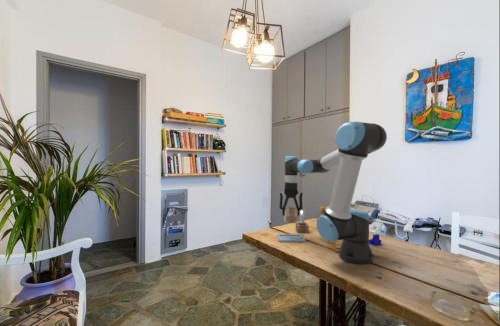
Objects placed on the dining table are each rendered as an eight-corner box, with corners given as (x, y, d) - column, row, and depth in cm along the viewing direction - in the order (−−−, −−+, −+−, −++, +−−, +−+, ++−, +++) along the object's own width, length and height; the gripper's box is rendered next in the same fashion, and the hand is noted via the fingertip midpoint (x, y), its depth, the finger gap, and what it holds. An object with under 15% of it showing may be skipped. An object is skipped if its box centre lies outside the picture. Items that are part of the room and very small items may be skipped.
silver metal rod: (304, 232, 156) (305, 210, 156) (300, 232, 156) (300, 210, 156) (303, 231, 159) (304, 209, 159) (299, 230, 159) (299, 209, 159)
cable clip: (381, 245, 133) (381, 234, 133) (375, 246, 131) (375, 235, 131) (362, 238, 144) (363, 229, 144) (357, 239, 142) (357, 229, 142)
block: (296, 222, 139) (296, 209, 139) (286, 222, 139) (286, 209, 139) (294, 220, 145) (294, 207, 145) (284, 220, 145) (285, 207, 145)
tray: (305, 242, 137) (305, 240, 137) (279, 242, 137) (279, 240, 137) (301, 236, 148) (301, 234, 148) (277, 236, 148) (277, 234, 148)
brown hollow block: (308, 233, 154) (308, 225, 154) (297, 233, 154) (297, 225, 154) (305, 230, 161) (306, 222, 161) (295, 230, 161) (295, 222, 161)
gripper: (305, 181, 146) (305, 219, 146) (274, 181, 146) (274, 219, 146) (308, 182, 138) (308, 222, 139) (275, 182, 138) (275, 222, 138)
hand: (290, 220), depth 142 cm, fingers closed on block, 6 cm apart
